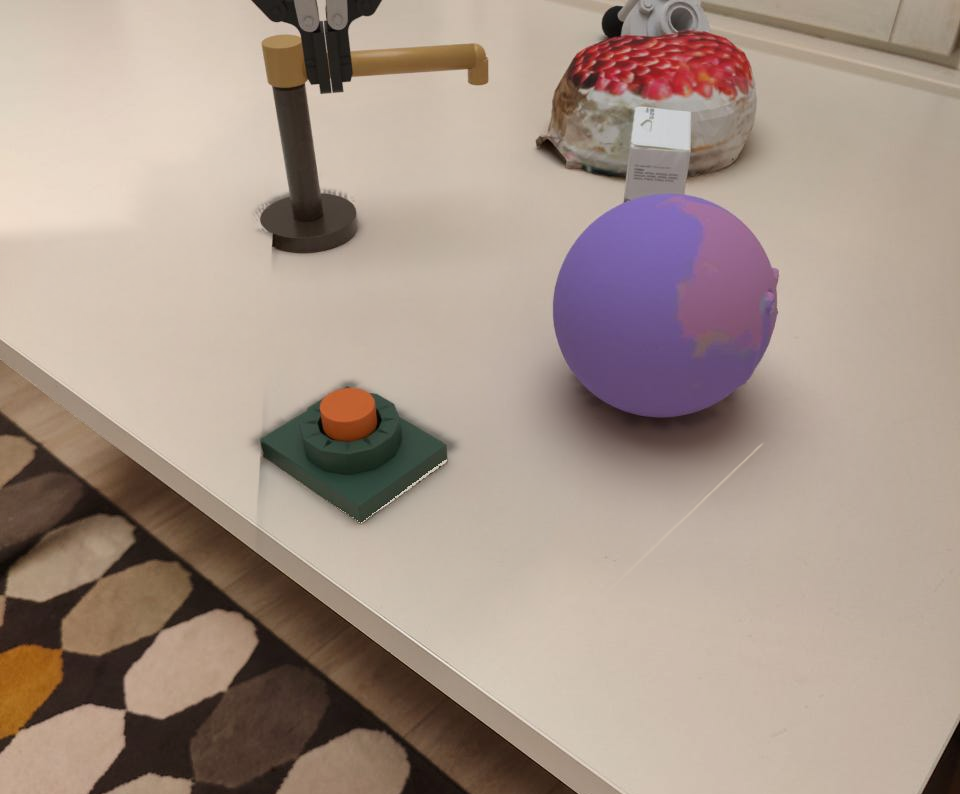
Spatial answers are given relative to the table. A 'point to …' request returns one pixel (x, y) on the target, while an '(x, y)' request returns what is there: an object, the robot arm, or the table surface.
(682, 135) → the ink box
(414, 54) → the spout
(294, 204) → the faucet base
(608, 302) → the decorative ball
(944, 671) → the table surface
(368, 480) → the button box
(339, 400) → the button
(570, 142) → the cake
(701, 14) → the valve
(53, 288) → the table surface
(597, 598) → the table surface
